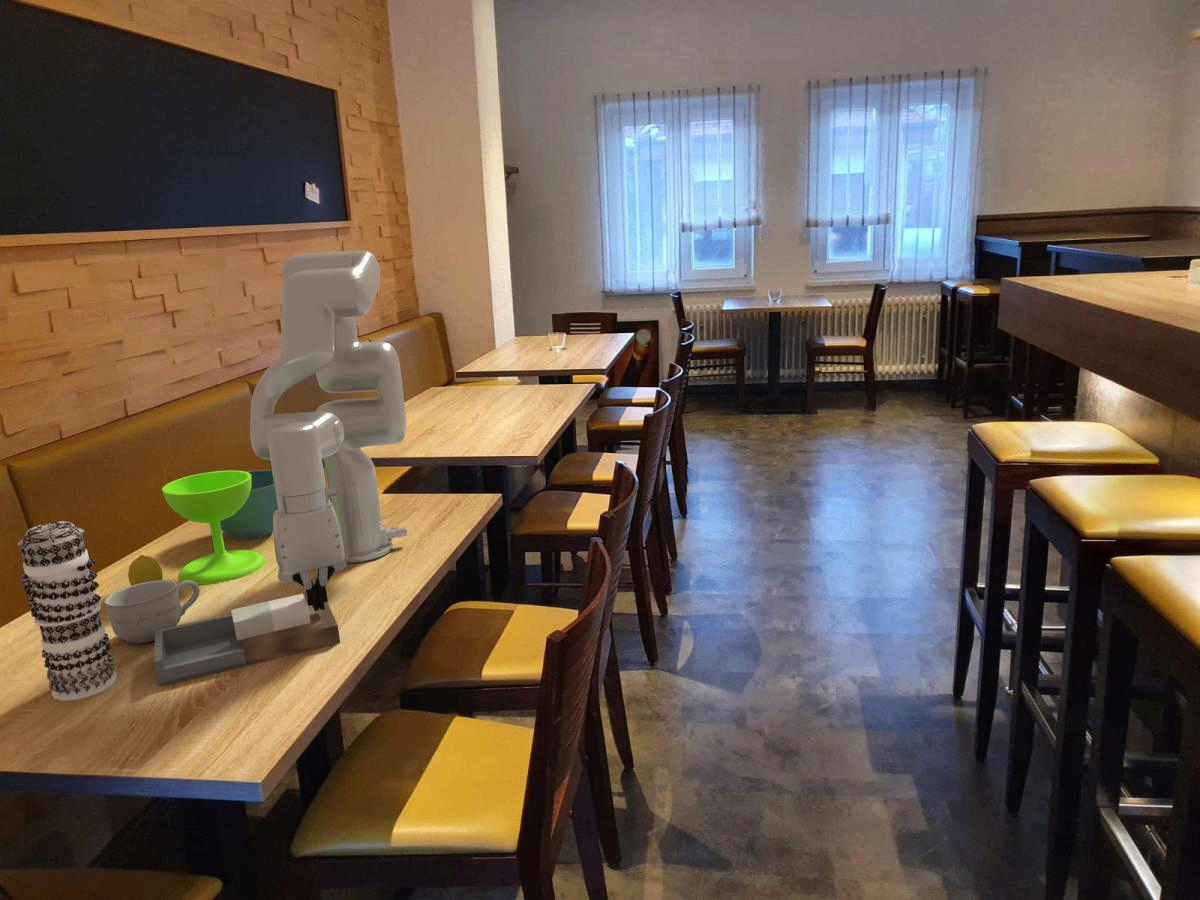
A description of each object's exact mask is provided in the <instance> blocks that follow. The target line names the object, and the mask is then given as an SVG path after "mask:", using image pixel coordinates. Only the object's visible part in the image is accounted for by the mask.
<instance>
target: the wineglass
mask: <svg viewBox="0 0 1200 900" xmlns="http://www.w3.org/2000/svg"><path fill="white" fill-rule="evenodd" d="M251 487H252V482H251V474H250V473H248V471H244V470H218V471H217V470H216V471H208V472H201V473H196V474H192V475H188V476H184V477H181V478H179V479H178V478H177V479H176V480H173V481H170V482H168V483H166V484H165V485H164V486H163V487H162V488H161V489H162V490H161V491H162V494H163V497H164V499H165V501H166V503H167V504H168V505H169V507H170V508H171V509H172V510H173V511H174V512H175V513H176V514H178V515H179V516H180V517H181V518H183V519H186V520H189V521H191V522H193V523H199V524H201V523H202V524H209V528H210V529H209V530H210V533H211V538H212V545H213V550H214V552H213V553H211V554H207V555H204V556H202V557H199V558H197V559H194V560H192V561H190V562H189V563H187V564H186V565H185V566H183V568H181V570H180V571H179V573H178V574H179V576H178V579H179V581H181V582H182V581H185V580H191V581H194V582H195V583H197V584H198V585H213V584H212V583H215V584H220V583H219V582H221V583H225V582H224V581H226V582H230V580H231V581H234V580H237V579H240V578H243V577H244V578H245V577H246V576H249V575H251V574H254V573H255V572H257V571H259V570H260V569H261V568H262V567H264V565H265V564H264V563H266V559H265V557H264V555H262V554H260V553H259V552H257V551H254V550H248V549H234V550H232V549H231V550H226V549H225V547H226V546H225V543H224V537H223V531H222V530H221V524H220V521H222V520H224V519H226V518H229V517H231V516H233V515H234V514H235V513H236V512H237V511H239V510H240V509H241V508H242V507H243V505H244V504H245V502H246V500H247V499H248V497H249V494H250V491H251ZM258 569H259V570H258ZM254 571H255V572H254Z"/></svg>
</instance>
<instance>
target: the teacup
mask: <svg viewBox="0 0 1200 900" xmlns="http://www.w3.org/2000/svg"><path fill="white" fill-rule="evenodd" d="M186 587H190V588H192V595H191V596H190V597H189V598H188V600H187V601H186V602H184V603H183V604H181V601H180V598H181V596H182V592H183V590H184V588H186ZM200 593H201V589H200V587H199V584H197V583H195V582H194V581H191V580H185V581H181V582H179V583H178V584H177V582H175V581H173V580H168V579H167V580H166V579H164V580H163V579H162V580H161V581H151V582H145V583H141V584H136V585H133V586H131V585H130V586H127V587H124V588H123V589H119V590H117V591H115V592H113V593H111V594H110V595H108V596H107V597H106V599H104V605H105V606H106V609H107V614H108V619H109V623H110V625H111V628H112V631H113V633H114V635H116V637H118V638H119V639H121V640H123V641H127V642H128V643H131V644H144V643H149V642H153V641H154V642H155V630H158V629H163V628H168V627H172V626H177V625H179V623H180V621H181V618H182V617H183V616H184V615H185V613H186V612H187V610H188V609H189V608H190V607H191V606H193V604H194V603H196V601H197V600H198V598H199V597H200Z"/></svg>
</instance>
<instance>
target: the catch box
mask: <svg viewBox="0 0 1200 900" xmlns="http://www.w3.org/2000/svg"><path fill="white" fill-rule="evenodd" d="M153 657H154V659H153V660H154V667H155V671H156V676H157V682H158V687H159V688H160V687H163V686H167V685H172V684H175V683H180V682H184V681H188V680H191V679H196V678H199V677H200V678H201V677H204V676H209V675H212V674H213V675H214V674H216V673H217V674H218V673H220V672H225V671H229V670H232V669H237V668H240V667H241V668H242V667H246V666H247V665H246V659H245V654H244V648H243V643H242V639H241V640H237V638H236V633H235V628H234V623H233V618H232V612H231V613H226V614H223V615H218V616H213V617H210V618H205V619H201V620H195V621H192V622H191V621H190V622H186V623H183V624H182V623H181V624H177V625H176V626H172V627H168V628H163V629H158V630H155V640H154V655H153Z"/></svg>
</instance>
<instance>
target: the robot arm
mask: <svg viewBox="0 0 1200 900" xmlns="http://www.w3.org/2000/svg"><path fill="white" fill-rule="evenodd" d="M281 268H282V270H281V271H282V277H283V279H284V280H283V281H284V284H283V287H282V288H283V289H282V309H281V310H282V312H281V313H282V314H281V316H282V317H281V319H282V320H281V351H280V354H279V356H278V357H277V358H276V359H275V361H273V362H272V363H271V365H270V366H268V368H267V369H266V370H265V371H264V373H263V374H262V376H261V378H259V380H258V382H257V384H256V386H255V389H254V391H253V393H252V397H251V403H250V422H249V423H250V425H249V432H250V434H249V435H250V444H251V447H252V449H253V452H254V453H255V456H257V457H258V458H260V459H261V460H265V461H270V466H271V470H272V473H273V479H274V486H275V492H276V498H277V505H278V510H276V511H274V514H273V531H272V533H273V543H274V551H275V554H274V555H275V559H276V563H277V566H278V567H277V568H278V571H277V579H278V580H279V582H295V583H296V584H297V585H300V586H302V587H303V588H304V589H305V594H306V602H308V606H311V605H312V606H313V609H314V611H318V610H319V608H320V609H321V610H324V609H325V606H324V602H328V601H329V600H328V594H327V587H326V586H327V584H328V582H329V580H330V579H331V578H332V576H333V575H334V574H335V573H336V572H338V571H339V572H340V571H341V570H343V569H346V568H347V567H348V563H361V562H367V561H371V560H375V559H378V558H380V557H383V556H385V555H388V553H390V552H391V550H393V547H394V546H393V539H395V538H403V537H407V536H408V529H407V527H406V526H403V527H398V525H395V526H391V527H386V526H384V524H383V519H382V512H381V505H380V504H381V503H380V496H379V489H378V480H377V472H376V466H375V464H374V461H373V460H372V459H371V458H370V456H368V454H367V453H366V452H365V451H364V450H363V449H362V448H365V447H379V446H389V445H396V444H399V443H401V442H402V441H404V440H405V437H406V434H407V416H406V408H405V407H406V406H405V397H404V396H405V395H404V387H403V378H402V372H401V371H402V369H401V363H400V359H399V355H398V353H397V351H396V349H395V347H394V346H393V345H392V344H390V343H388V342H386V341H368V342H367V341H364V342H360V341H359V338H358V330H357V324H356V323H357V320H356V317H363V316H365V315H367V314H368V313H369V312H370V310H371V309H372V307H373V304H374V302H375V299H376V296H377V295H378V292H379V289H380V285H381V270H380V264H379V262H378V259H377V258H376V257H375V255H374V254H373V253H371V252H370V251H368V250H342V251H322V252H321V251H320V252H307V253H300V254H295V255H292V256H290V257H287V258H286V259H285V260H284V261H283V263H282V267H281ZM313 374H316V379H317V382H318V385H319V387H320V388H321V389H322V391H325V392H327V393H333V394H334V393H335V394H341V393H342V394H344V393H345V394H346V393H360V392H361V393H362V392H376V394H378V396H379V397H378V396H377V397H366V398H359V397H358V398H347V399H346V398H345V399H338V400H337V399H336V400H331V401H327V402H324V403H322V404H321V405H319V406H318V407H317V408H316V410H315V411H311V412H293V413H292V412H291V413H278V414H277V413H276V414H274V412H275V408H276V404H277V402H278V400H279V399H280V398H281V396H282V394H283V393H285V392H286V391H287V390H288V389H289V388H291V387H292V386H294V385H295V384H298V383H299V382H301V381H302V380H304V379H306V378H308V377H309V376H311V375H313ZM324 470H325V471H324ZM325 475H326V476H325ZM325 478H326V480H325ZM326 483H327V486H326ZM315 570H316V579H315V581H314V582H313V579H311V578H310V577H311V576H310V573H309V572H310V571H315ZM328 603H329V602H328Z"/></svg>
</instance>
